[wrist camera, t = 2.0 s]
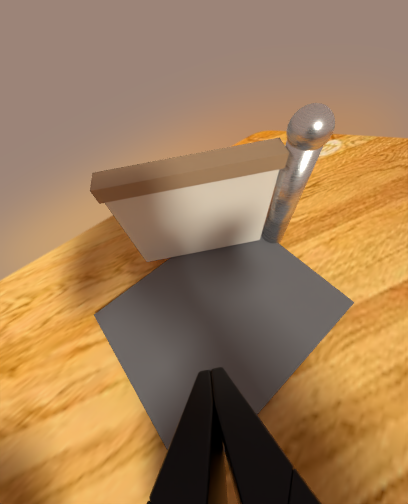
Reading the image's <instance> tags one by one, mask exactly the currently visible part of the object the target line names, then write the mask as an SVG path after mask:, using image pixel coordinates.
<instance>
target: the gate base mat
mask: <svg viewBox="0 0 408 504" xmlns="http://www.w3.org/2000/svg"><path fill="white" fill-rule="evenodd" d="M353 303H354V302H353V301H352V300H350V299H349V298H348V297H347V296H345V295H344V294H343V293H341V292H340V291H339V290H338V289H336V288H335V287H334V286H332V285H331V284H330V283H329V282H327V281H326V280H325V279H323V278H322V277H321V276H320V275H318V274H317V273H316V272H314V271H313V270H312V269H311V268H309V267H308V266H307V265H305V264H304V263H303V262H302V261H300V260H299V259H298V258H296V257H295V256H294V255H293V254H291V253H290V252H289V251H287V250H286V249H285V248H284V247H282V246H281V245H280V244H278V243H268V242H266V241H265V240H264V239H263V238H262V235H261V238H260V240H257V241H252V242H247V243H242V244H237V245H231V246H226V247H221V248H216V249H211V250H206V251H201V252H196V253H191V254H186V255H181V256H176V257H171V258H170V259H168V260H167V261H166V262H164V263H163V264H162V265H160V266H159V267H158V268H156V269H155V270H154V271H152V272H151V273H150V274H148V275H147V276H146V277H144V278H143V279H141V280H140V281H139V282H137V283H136V284H135V285H133V286H132V287H131V288H129V289H128V290H127V291H125V292H124V293H123V294H121V295H120V296H119V297H117V298H116V299H115V300H113V301H112V302H111V303H109V304H108V305H107V306H105V307H104V308H103V309H101V310H100V311H99V312H97V313H96V314H94V316H95V318H96V320H97V322H98V323H99V325H100V327H101V329H102V331H103V333H104V334H105V336H106V338H107V340H108V342H109V344H110V345H111V347H112V349H113V351H114V353H115V355H116V357H117V358H118V360H119V362H120V364H121V366H122V368H123V369H124V371H125V373H126V375H127V377H128V379H129V380H130V382H131V384H132V386H133V388H134V390H135V391H136V393H137V395H138V397H139V399H140V401H141V402H142V404H143V406H144V408H145V410H146V412H147V414H148V415H149V417H150V419H151V421H152V423H153V425H154V426H155V428H156V430H157V432H158V434H159V436H160V437H161V439H162V441H163V443H164V445H165V447H166V448H167V450H168V448H169V446H170V443H171V441H172V438H173V436H174V433H175V430H176V428H177V425H178V423H179V420H180V418H181V415H182V413H183V410H184V408H185V405H186V402H187V400H188V397H189V395H190V392H191V390H192V387H193V385H194V382H195V380H196V377H197V374H198V373H199V372H200V371H203V370H208V369H209V370H210V371H211V369H213V368H218V367H223V368H224V370H225V371H226V372H227V374H228V375H229V377H230V378H231V379H232V381H233V382H234V384H235V385H236V386H237V388H238V389H239V391H240V392H241V393H242V395H243V396H244V397H245V399H246V400H247V402H248V403H249V404H250V406H251V407H252V409H253V410H254V411H255V413H256V414H258V413H259V412H260V411H261V410H262V408H263V407H264V406H265V405H266V404H267V403H268V402H269V400H270V399H271V398H272V397H273V396H274V395H275V393H276V392H277V391H278V390H279V389H280V388H281V387H282V385H283V384H284V383H285V382H286V381H287V380H288V378H289V377H290V376H291V375H292V374H293V373H294V371H295V370H296V369H297V368H298V367H299V366H300V365H301V363H302V362H303V361H304V360H305V359H306V358H307V356H308V355H309V354H310V353H311V352H312V351H313V350H314V348H315V347H316V346H317V345H318V344H319V343H320V341H321V340H322V339H323V338H324V337H325V336H326V335H327V333H328V332H329V331H330V330H331V329H332V328H333V326H334V325H335V324H336V323H337V322H338V321H339V320H340V318H341V317H342V316H343V315H344V314H345V313H346V311H347V310H348V309H349V308H350V307H351V306H352V305H353ZM223 446H224V444H223ZM224 452H225V449H224Z"/></svg>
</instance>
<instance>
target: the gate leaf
mask: <svg viewBox="0 0 408 504" xmlns="http://www.w3.org/2000/svg"><path fill="white" fill-rule="evenodd" d="M288 155H289V152H288V150H287V149H286V147H285V146H284V144H283V142H282V141H281V139H280V138H275V139H270V140H264V141H259V142H254V143H249V144H243V145H238V146H233V147H227V148H222V149H217V150H212V151H207V152H201V153H196V154H190V155H185V156H180V157H174V158H169V159H165V160H159V161H153V162H148V163H143V164H137V165H132V166H127V167H121V168H116V169H111V170H106V171H101V172H95V173H93V174H92V181H91V188H90V191H91V193H92V194H93V196H94V197H95V198H96V200H97V201H98V202H99V203H100V204H101V203H105V204H106V205H107V207H108V208H109V210H110V211H111V213H112V214H113V215H114V217H115V218H116V220H117V221H118V222H119V224H120V225H121V227H122V228H123V229H124V231H125V232H126V234H127V235H128V236H129V238H130V239H131V241H132V242H133V243H134V245H135V246H136V248H137V249H138V250H139V252H140V253H141V255H142V256H143V258H144V259H145V260H146V262H150V261H156V260H161V259H166V258H171V257H176V256H181V255H186V254H191V253H196V252H201V251H206V250H211V249H216V248H221V247H226V246H231V245H237V244H242V243H247V242H252V241H257V240H260V238H261V234H262V230H263V227H264V223H265V220H266V216H267V212H268V209H269V205H270V202H271V198H272V194H273V191H274V187H275V184H276V180H277V176H278V173H279V169H283V168H285V165H286V162H287V159H288Z"/></svg>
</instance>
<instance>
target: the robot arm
mask: <svg viewBox="0 0 408 504" xmlns="http://www.w3.org/2000/svg"><path fill="white" fill-rule="evenodd" d="M223 444H224V446H223ZM224 449H225V453H226V457H227V462H228V465H229V469H230V473H231V477H232V481H233V485H234V489H235V493H236V497H237V501H238V504H321V502H320V501H319V500H318V498H317V497H316V496H315V494H314V493H313V492H312V490H311V489H310V488H309V486H308V485H307V483H306V482H305V481H304V479H303V478H302V477H301V475H300V474H299V472H298V471H297V470H296V469H294V466H293V464H292V463H291V462H290V460H289V459H288V457H287V456H286V455H285V453H284V452H283V450H282V449H281V448H280V446H279V445H278V443H277V442H276V441H275V439H274V438H273V436H272V435H271V434H270V432H269V431H268V429H267V428H266V427H265V425H264V424H263V423H262V421H261V420H260V418H259V417H258V416H257V414H256V413H255V411H254V410H253V409H252V407H251V406H250V404H249V403H248V402H247V400H246V399H245V397H244V396H243V395H242V393H241V392H240V391H239V389H238V388H237V386H236V385H235V384H234V382H233V381H232V379H231V378H230V377H229V375H228V374H227V372H226V371H225V370H224V368H223V367H218V368H213V369H211V371H210V370H209V369H208V370H203V371H200V372H199V373H198V374H197V377H196V380H195V382H194V385H193V387H192V390H191V392H190V395H189V397H188V400H187V402H186V405H185V408H184V410H183V413H182V415H181V418H180V420H179V423H178V425H177V428H176V430H175V433H174V436H173V438H172V441H171V443H170V446H169V448H168V451H167V453H166V456H165V458H164V461H163V464H162V466H161V469H160V471H159V474H158V476H157V479H156V481H155V484H154V486H153V489H152V492H151V494H150V497H149V498H150V501H151V502H150V501H148V502H147V504H227V488H226V471H225V456H224Z"/></svg>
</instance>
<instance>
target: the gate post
mask: <svg viewBox="0 0 408 504" xmlns="http://www.w3.org/2000/svg"><path fill="white" fill-rule="evenodd" d="M334 126H335V118H334V115H333V112H332V111H331V110H330V108H328V107H327V106H326V105H324V104H320V103H313V104H309V105H306V106H304V107H302V108H301V109H299V110H298V111H297V112H296V113H295V114H294V115H293V117H292V118H291V120H290V122H289V124H288V128H287V142H286V146H285V147H286V149H287V150H288V152H289V155H288V159H287V162H286V165H285V168H283V169H279V173H278V176H277V180H276V184H275V187H274V191H273V194H272V198H271V202H270V205H269V209H268V212H267V216H266V220H265V223H264V227H263V230H262V234H261V235H262V238H263V239H264V240H265V241H266V242H268V243H278V244H279V243H280V242H281V240H282V238H283V235H284V233H285V231H286V229H287V226H288V224H289V222H290V220H291V217H292V215H293V213H294V211H295V208H296V206H297V204H298V202H299V199H300V197H301V195H302V193H303V190H304V188H305V186H306V184H307V181H308V179H309V177H310V175H311V172H312V170H313V168H314V166H315V163H316V161H317V159H318V157H319V154H320V152H321V150H322V148H323V145H325V144H326V143H327V141H328V140H329V139H330V137H331V135H332V133H333V130H334Z"/></svg>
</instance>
